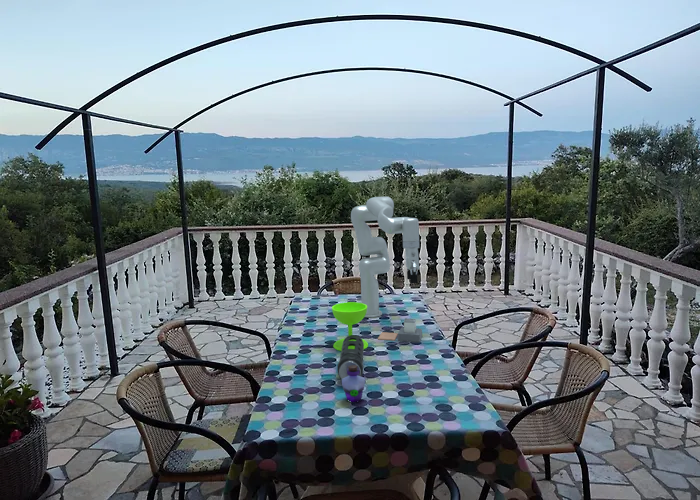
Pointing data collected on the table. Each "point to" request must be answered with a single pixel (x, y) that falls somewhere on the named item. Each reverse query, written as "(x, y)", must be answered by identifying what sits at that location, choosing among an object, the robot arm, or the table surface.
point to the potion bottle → (353, 384)
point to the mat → (387, 336)
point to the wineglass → (349, 319)
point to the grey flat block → (410, 335)
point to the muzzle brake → (351, 355)
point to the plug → (410, 325)
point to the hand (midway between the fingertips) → (412, 281)
